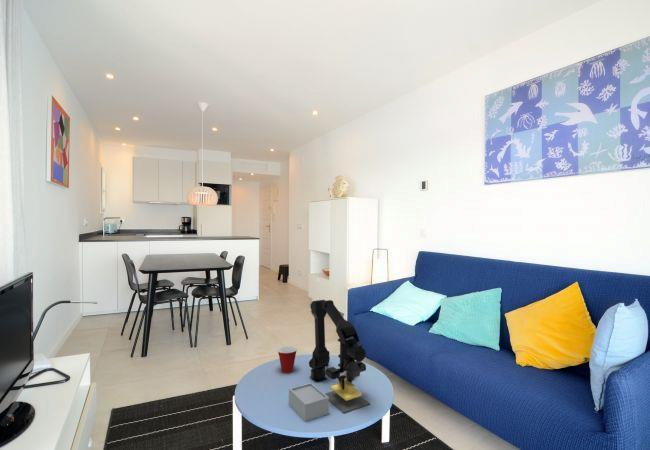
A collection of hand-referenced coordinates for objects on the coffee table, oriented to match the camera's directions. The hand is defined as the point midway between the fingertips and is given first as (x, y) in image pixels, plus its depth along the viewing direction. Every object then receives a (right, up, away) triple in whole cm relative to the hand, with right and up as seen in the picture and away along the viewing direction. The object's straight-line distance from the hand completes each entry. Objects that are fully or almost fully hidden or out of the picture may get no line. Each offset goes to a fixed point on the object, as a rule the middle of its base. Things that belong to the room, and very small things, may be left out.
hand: (345, 388), depth 150 cm
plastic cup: (-29, -5, +29) cm, 41 cm away
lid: (0, -2, 0) cm, 2 cm away
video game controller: (+4, -5, +23) cm, 24 cm away
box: (-16, -5, -8) cm, 19 cm away
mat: (0, -5, 0) cm, 5 cm away
